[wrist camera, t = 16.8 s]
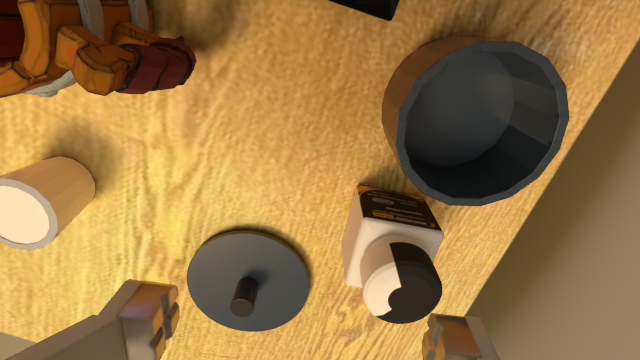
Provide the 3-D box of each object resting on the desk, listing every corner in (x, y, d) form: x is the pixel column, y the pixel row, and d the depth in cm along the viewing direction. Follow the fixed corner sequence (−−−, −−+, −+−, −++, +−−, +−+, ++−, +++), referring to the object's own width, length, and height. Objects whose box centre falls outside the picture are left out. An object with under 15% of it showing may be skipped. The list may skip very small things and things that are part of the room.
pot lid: (184, 224, 40) (167, 250, 35) (311, 229, 40) (309, 255, 35) (196, 322, 45) (182, 354, 41) (307, 326, 45) (306, 358, 41)
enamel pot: (389, 33, 32) (407, 37, 25) (534, 39, 32) (592, 45, 25) (375, 168, 37) (387, 203, 30) (500, 173, 37) (541, 209, 30)
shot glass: (115, 182, 38) (72, 216, 31) (79, 224, 40) (32, 264, 33) (53, 136, 36) (-6, 162, 29) (19, 182, 38) (-43, 216, 31)
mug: (27, -93, 29) (-247, -195, 15) (233, 2, 31) (162, -9, 17) (13, 45, 33) (-213, 65, 19) (197, 119, 35) (115, 186, 21)
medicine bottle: (424, 196, 38) (466, 269, 27) (404, 254, 41) (434, 342, 30) (356, 183, 38) (370, 252, 26) (340, 242, 40) (347, 327, 29)
